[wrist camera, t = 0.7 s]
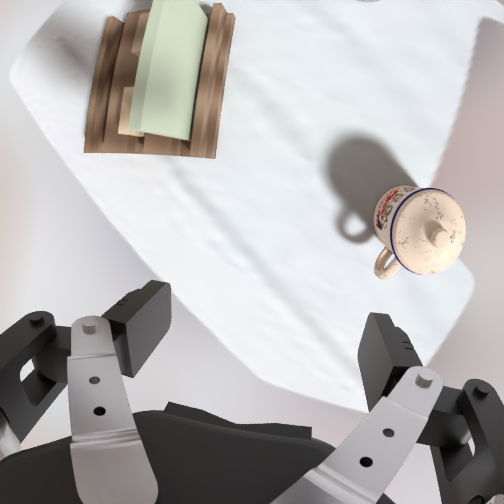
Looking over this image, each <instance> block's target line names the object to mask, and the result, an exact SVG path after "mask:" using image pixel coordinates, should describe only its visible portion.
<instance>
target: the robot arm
mask: <svg viewBox="0 0 504 504" xmlns="http://www.w3.org/2000/svg"><path fill="white" fill-rule="evenodd" d="M359 1H378V0H359ZM170 324H171V286H170V284H169V283H167V282H161V281H156V280H151V281H149V282H148V283H147V284H146V285H145V286H144V287H143V288H141V289H137V290H134V291H132V292H129V293H128V294H126V296H124V297H123V298H122V300H119V301H118V302H117V303H116V304H115V305H113V306H112V307H111V308H110V309H109V310H108V311H106V312H105V313H104V314H103V315H102V316H101V317H99V316H86V317H82V318H80V319H78V320H76V321H75V322H74V323H73V324H72V327H64V326H56V325H55V321H54V316H53V315H52V314H51V313H49V312H46V311H36V312H32V313H29V314H27V315H25V316H24V317H23V318H21V319H20V320H19V321H17V322H16V323H15V324H14V325H12V326H11V327H10V328H8V329H7V330H6V331H4V332H3V333H2V334H1V335H0V504H395V503H394V502H393V501H392V500H391V499H390V498H389V497H388V496H387V495H385V494H384V493H383V492H384V491H385V489H386V488H387V487H388V485H389V484H390V482H391V481H392V479H393V478H394V476H395V475H396V473H397V472H398V470H399V469H400V467H401V466H402V464H403V463H404V461H405V459H406V458H407V456H408V455H409V453H410V451H411V450H412V448H413V446H414V445H415V443H420V444H425V445H430V449H431V453H432V457H433V462H434V466H435V470H436V475H437V480H438V485H439V490H440V496H441V501H442V504H504V405H503V403H502V401H501V400H500V398H499V396H498V395H497V392H496V391H495V389H494V388H493V387H492V386H491V385H490V384H489V383H487V382H485V381H483V380H480V379H470V380H468V381H467V382H466V383H465V385H464V387H463V388H462V390H459V389H454V388H450V387H446V386H443V379H442V378H441V376H440V375H439V374H438V373H437V372H435V371H434V370H432V369H430V368H427V367H423V365H422V363H421V361H420V359H419V357H418V355H417V353H416V351H415V350H414V347H413V345H412V343H411V341H410V339H409V337H408V335H407V334H406V333H405V332H404V331H403V330H401V329H400V328H399V327H395V326H394V324H393V322H392V320H391V318H390V316H389V314H382V313H372V312H371V313H370V314H369V316H368V318H367V322H366V325H365V328H364V332H363V335H362V338H361V342H360V345H359V349H358V363H359V367H360V372H361V376H362V381H363V385H364V390H365V395H366V400H367V404H368V409H369V414H368V415H367V416H366V417H365V418H364V419H363V421H362V422H361V423H360V424H359V425H358V426H357V427H356V428H355V430H354V431H353V432H352V433H351V434H350V435H349V436H348V437H347V438H346V439H345V440H344V441H343V442H342V443H341V445H340V446H338V447H337V448H335V447H333V446H332V445H330V444H328V443H326V442H323V441H321V440H318V439H316V438H312V437H311V435H312V434H311V433H312V427H306V426H296V425H288V424H279V423H267V424H235V423H232V422H230V421H227V420H225V419H222V418H220V417H218V416H215V415H213V414H210V413H208V412H206V411H204V410H201V409H197V408H192V407H188V406H184V405H180V404H176V403H172V402H168V404H167V406H166V408H165V409H164V411H162V410H150V411H142V412H137V413H133V414H132V412H131V409H130V405H129V402H128V398H127V394H126V391H125V387H124V383H123V380H122V376H121V375H125V376H128V377H131V378H134V377H135V375H136V374H137V373H138V371H139V370H140V368H141V367H142V366H143V364H144V363H145V362H146V360H147V359H148V357H149V356H150V355H151V353H152V352H153V350H154V349H155V348H156V346H157V345H158V344H159V342H160V341H161V340H162V338H163V337H164V336H165V334H166V333H167V332H168V330H169V327H170ZM30 359H32V362H33V365H34V368H35V369H34V370H33V371H32V372H31V373H30V374H29V375H28V376H27V377H26V378H25V379H24V380H23V381H22V382H21V380H20V371H21V369H22V367H23V366H24V365H25V364H26V363H27V362H28V361H29V360H30ZM67 384H68V397H69V411H70V422H71V432H72V436H69V437H66V438H63V439H60V440H56V441H53V442H50V443H47V444H44V445H40V446H37V447H33V448H30V449H26V450H22V451H20V448H21V447H20V444H21V442H22V441H23V440H24V439H25V437H26V436H27V435H28V433H29V432H30V431H31V429H32V428H33V427H34V425H35V424H36V423H37V422H38V420H39V419H40V418H41V417H42V415H43V414H44V413H45V411H46V410H47V409H48V408H49V406H50V405H51V403H53V401H54V400H55V399H56V397H57V396H58V395H59V394H60V393H61V391H62V390H63V389H64V388H65V387H66V385H67ZM471 437H472V439H473V441H474V444H475V453H474V456H473V455H472V452H471V450H470V447H469V444H468V441H469V440H470V438H471Z"/></svg>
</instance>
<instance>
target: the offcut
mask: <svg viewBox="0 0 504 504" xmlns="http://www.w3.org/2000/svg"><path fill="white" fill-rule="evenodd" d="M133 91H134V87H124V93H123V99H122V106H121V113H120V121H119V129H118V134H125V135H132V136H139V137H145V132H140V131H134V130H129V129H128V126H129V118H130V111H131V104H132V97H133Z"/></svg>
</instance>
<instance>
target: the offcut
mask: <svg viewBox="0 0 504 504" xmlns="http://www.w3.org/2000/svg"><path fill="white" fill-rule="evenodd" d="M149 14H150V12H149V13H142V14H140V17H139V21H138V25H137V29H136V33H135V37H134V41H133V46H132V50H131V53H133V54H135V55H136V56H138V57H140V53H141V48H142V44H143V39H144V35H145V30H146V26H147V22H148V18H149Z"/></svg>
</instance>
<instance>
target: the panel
mask: <svg viewBox="0 0 504 504" xmlns="http://www.w3.org/2000/svg"><path fill="white" fill-rule="evenodd" d="M209 24H210V21H209V19H208V18H207V16H206V15H205V13H204V12H203V11H202V9H201V8H200V6H199V5H198V3H197V2H196V0H153V3H152V7H151V11H150V14H149V18H148V22H147V26H146V30H145V35H144V39H143V44H142V48H141V53H140V58H139V63H138V68H137V73H136V79H135V85H134V91H133V97H132V104H131V111H130V118H129V126H128V129H129V130H134V131H140V132H146V133H151V134H157V135H162V136H167V137H172V138H177V139H182V140H187V141H191V140H192V132H193V124H194V116H195V109H196V102H197V95H198V88H199V81H200V75H201V69H202V63H203V57H204V51H205V45H206V40H207V34H208V29H209Z"/></svg>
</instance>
